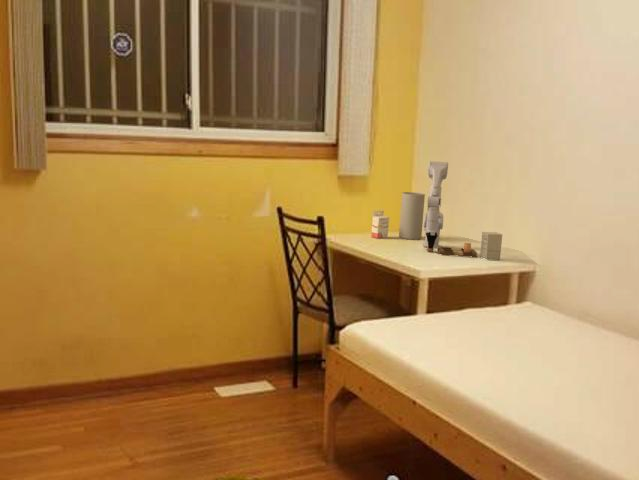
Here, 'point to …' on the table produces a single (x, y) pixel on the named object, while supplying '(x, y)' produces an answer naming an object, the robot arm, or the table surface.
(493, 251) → the supplement box
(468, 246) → the pin
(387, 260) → the table surface
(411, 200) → the cylinder vase
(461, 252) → the wooden grid frame
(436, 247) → the robot arm
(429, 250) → the loose pin
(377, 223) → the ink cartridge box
